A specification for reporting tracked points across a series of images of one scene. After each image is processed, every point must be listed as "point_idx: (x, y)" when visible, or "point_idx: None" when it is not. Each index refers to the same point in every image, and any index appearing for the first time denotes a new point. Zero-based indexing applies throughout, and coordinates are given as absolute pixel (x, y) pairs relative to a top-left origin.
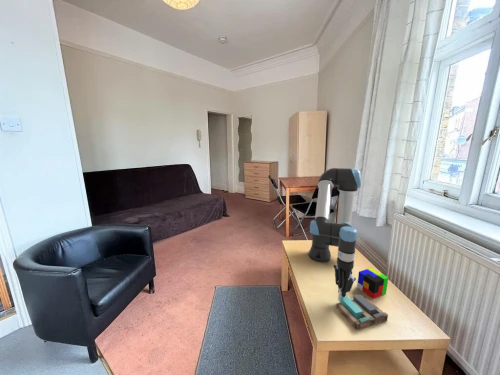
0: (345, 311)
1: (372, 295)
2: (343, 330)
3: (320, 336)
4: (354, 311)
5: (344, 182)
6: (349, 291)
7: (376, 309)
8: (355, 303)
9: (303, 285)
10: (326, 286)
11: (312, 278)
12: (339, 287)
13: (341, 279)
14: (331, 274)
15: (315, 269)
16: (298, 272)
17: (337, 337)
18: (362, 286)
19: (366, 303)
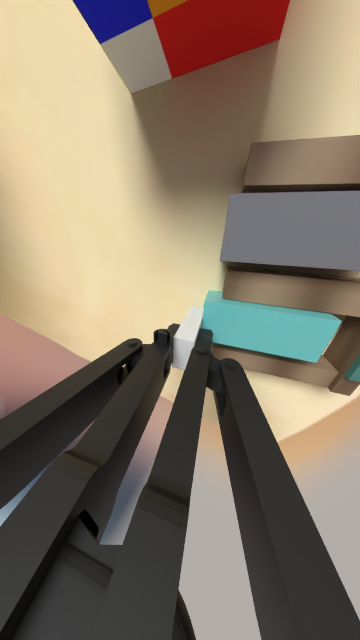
0: (261, 367)
1: (273, 5)
2: (294, 400)
3: None
4: (303, 359)
5: None
6: (241, 372)
7: None
8: (257, 285)
9: (94, 354)
10: (104, 291)
11: (61, 306)
12: (169, 372)
13: (137, 432)
14: (24, 195)
15: (4, 252)
16: (35, 325)
17: (297, 426)
18: (154, 30)
19: (325, 230)
